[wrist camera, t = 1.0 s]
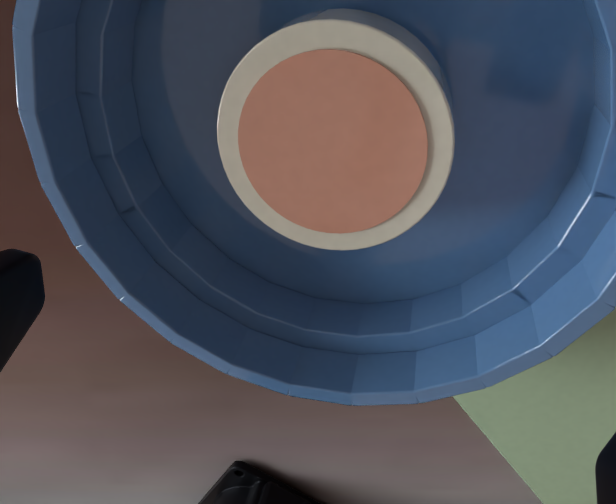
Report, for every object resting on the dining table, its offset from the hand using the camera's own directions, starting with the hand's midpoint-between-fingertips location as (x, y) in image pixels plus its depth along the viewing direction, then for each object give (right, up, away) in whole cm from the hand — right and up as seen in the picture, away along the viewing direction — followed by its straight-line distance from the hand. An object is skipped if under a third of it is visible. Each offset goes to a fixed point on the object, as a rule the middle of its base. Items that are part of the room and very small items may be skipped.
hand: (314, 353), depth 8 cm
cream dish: (+1, +6, +9) cm, 11 cm away
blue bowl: (+1, +6, +10) cm, 11 cm away
